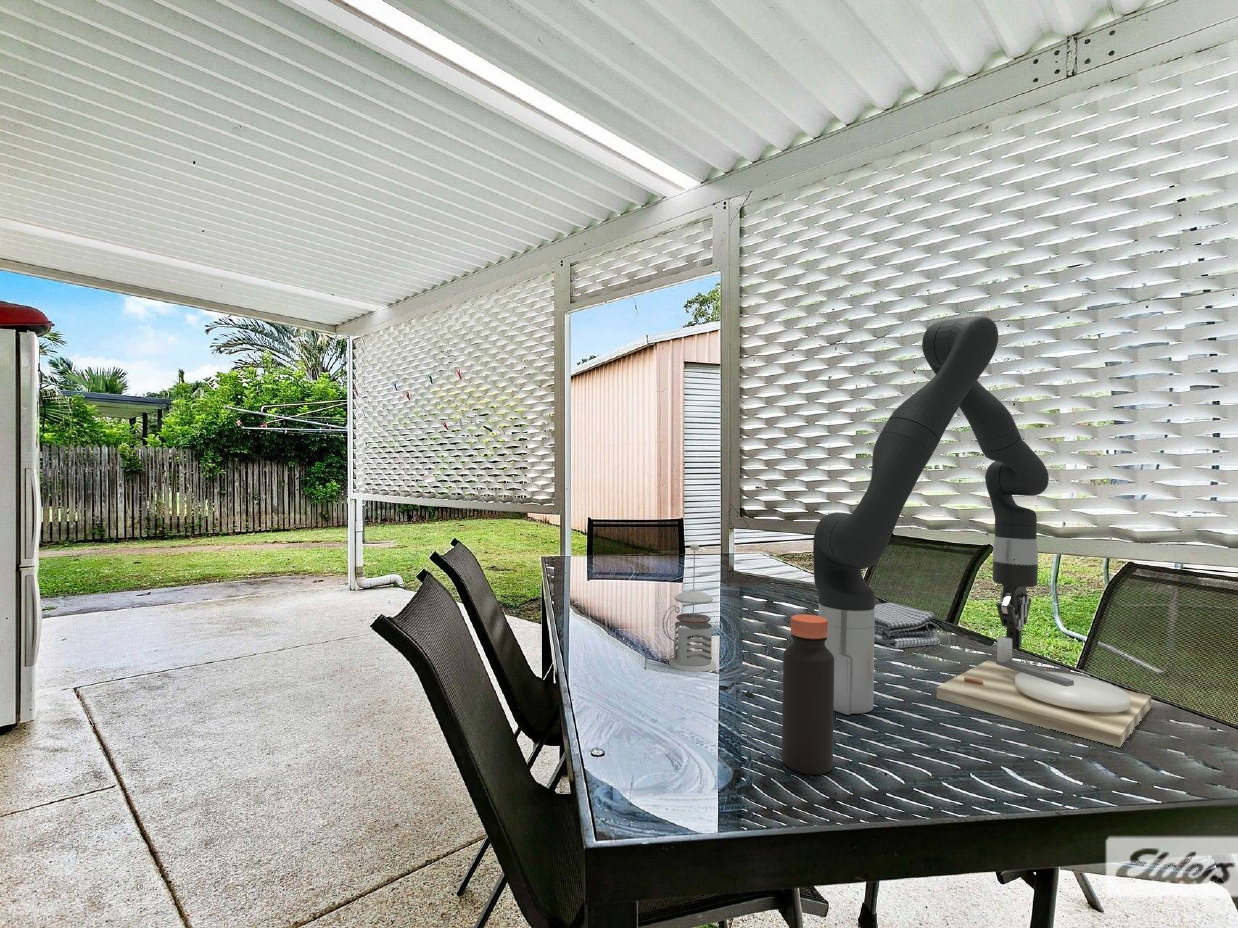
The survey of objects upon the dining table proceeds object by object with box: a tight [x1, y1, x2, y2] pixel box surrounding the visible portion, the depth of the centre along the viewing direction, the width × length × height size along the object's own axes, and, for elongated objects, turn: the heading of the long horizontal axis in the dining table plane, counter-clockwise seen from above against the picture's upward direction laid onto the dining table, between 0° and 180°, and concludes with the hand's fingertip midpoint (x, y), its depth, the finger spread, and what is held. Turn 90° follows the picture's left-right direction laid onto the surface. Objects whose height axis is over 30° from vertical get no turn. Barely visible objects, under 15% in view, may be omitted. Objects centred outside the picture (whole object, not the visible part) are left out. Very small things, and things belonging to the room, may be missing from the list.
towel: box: [874, 602, 941, 650], centre depth 152 cm, size 15×18×8 cm
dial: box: [995, 635, 1130, 713], centre depth 108 cm, size 16×21×7 cm
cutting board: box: [936, 659, 1152, 748], centre depth 110 cm, size 26×26×3 cm
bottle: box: [781, 614, 834, 776], centre depth 85 cm, size 7×7×20 cm
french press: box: [662, 543, 717, 673], centre depth 128 cm, size 10×12×25 cm
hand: (1013, 647), depth 122 cm, fingers closed
